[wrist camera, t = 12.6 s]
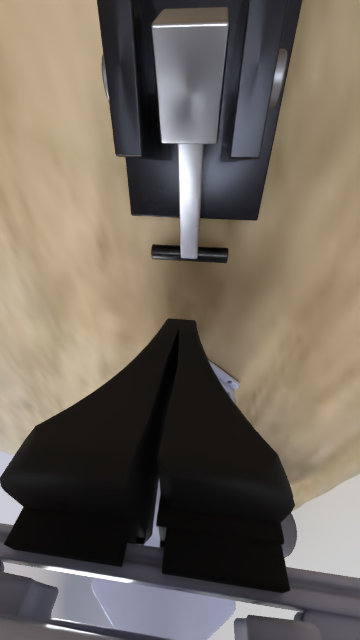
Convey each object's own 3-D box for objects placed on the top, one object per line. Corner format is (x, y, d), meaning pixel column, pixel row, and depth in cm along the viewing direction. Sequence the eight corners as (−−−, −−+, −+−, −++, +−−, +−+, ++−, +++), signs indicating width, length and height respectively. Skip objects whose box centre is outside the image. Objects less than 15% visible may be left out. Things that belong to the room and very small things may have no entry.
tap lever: (226, 248, 16) (226, 274, 14) (156, 245, 16) (150, 270, 15) (274, 5, 7) (284, 19, 6) (120, 9, 7) (100, 24, 6)
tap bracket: (254, 217, 16) (290, 258, 9) (135, 212, 17) (82, 247, 10) (306, -47, 10) (557, -587, 3) (113, -38, 11) (-84, -456, 3)
